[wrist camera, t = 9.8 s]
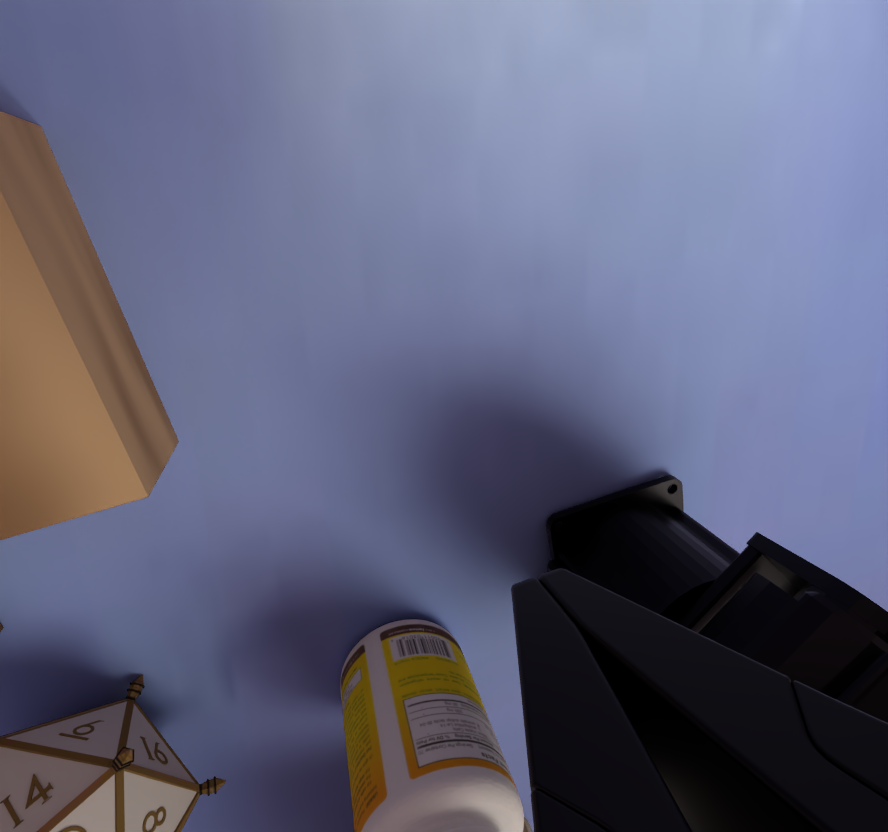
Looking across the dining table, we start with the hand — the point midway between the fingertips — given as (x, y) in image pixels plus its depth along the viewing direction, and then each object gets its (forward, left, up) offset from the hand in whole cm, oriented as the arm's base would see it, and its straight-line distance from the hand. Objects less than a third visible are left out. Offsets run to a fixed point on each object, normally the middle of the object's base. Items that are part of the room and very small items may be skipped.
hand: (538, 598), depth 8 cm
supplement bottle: (+3, +13, -13) cm, 19 cm away
